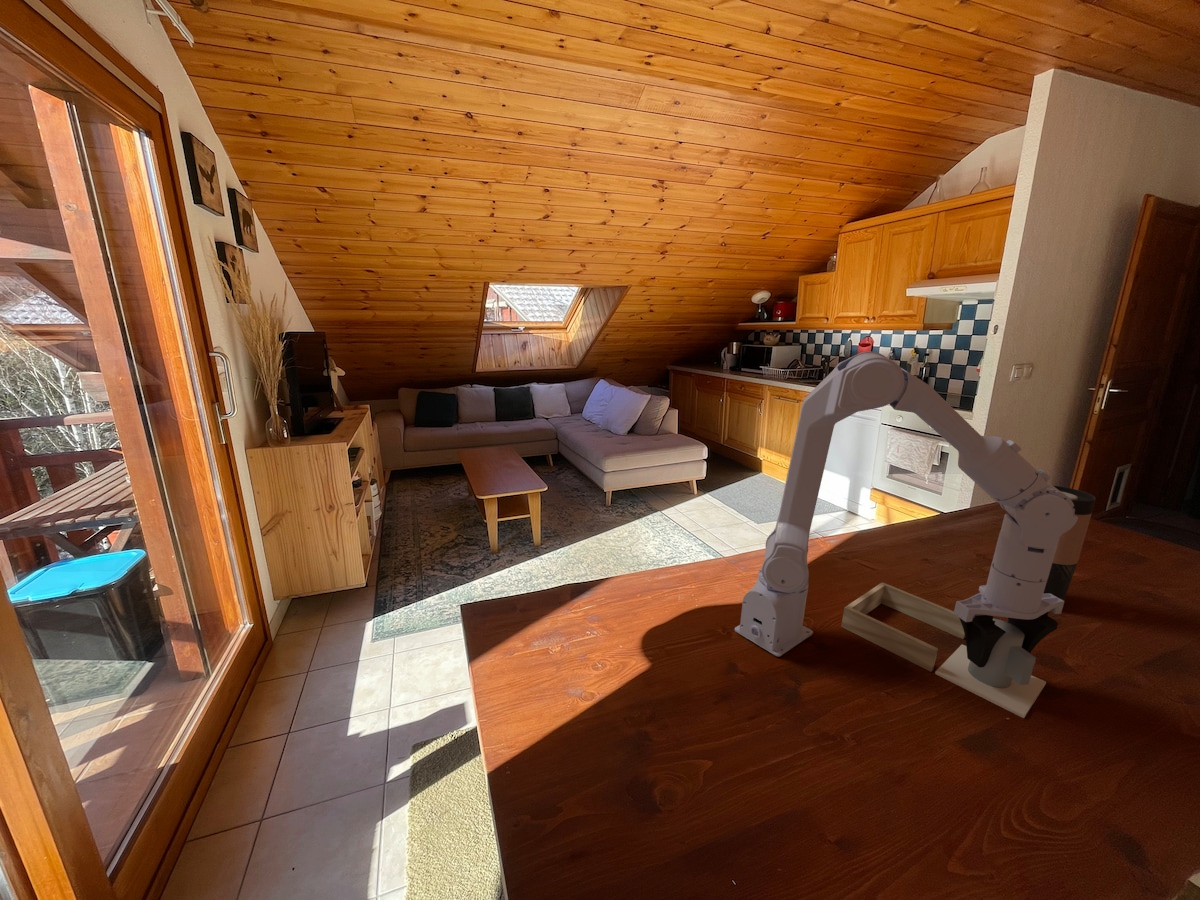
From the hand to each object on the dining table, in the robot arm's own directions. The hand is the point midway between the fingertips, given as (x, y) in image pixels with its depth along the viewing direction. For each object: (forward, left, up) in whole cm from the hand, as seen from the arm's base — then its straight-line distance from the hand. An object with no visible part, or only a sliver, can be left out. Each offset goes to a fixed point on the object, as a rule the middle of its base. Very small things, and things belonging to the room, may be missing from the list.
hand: (994, 660), depth 70 cm
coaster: (0, 0, -3) cm, 3 cm away
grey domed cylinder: (-1, -1, -3) cm, 3 cm away
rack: (+2, +12, -3) cm, 12 cm away
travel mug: (+32, +2, -3) cm, 32 cm away
